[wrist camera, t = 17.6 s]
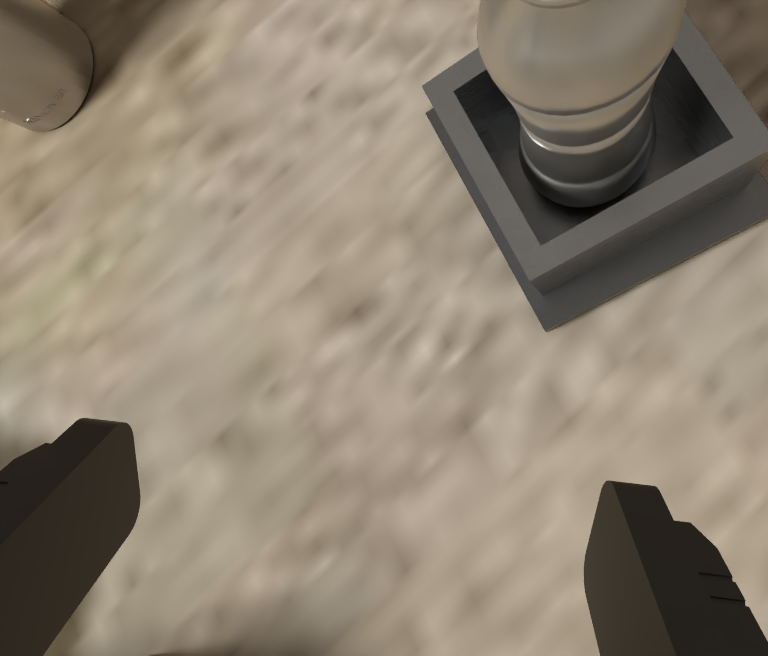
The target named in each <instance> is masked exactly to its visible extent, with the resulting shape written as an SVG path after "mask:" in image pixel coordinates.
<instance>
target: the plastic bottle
mask: <svg viewBox="0 0 768 656" xmlns="http://www.w3.org/2000/svg"><path fill="white" fill-rule="evenodd" d="M687 3H688V0H481V1H480V6H479V12H478V18H477V41H478V47H479V52H480V55H481V58H482V60H483V62H484V64H485V67H486V69H487V71H488V72H489V74H490V76H491V78H492V80H493V81H494V82H495V84H496V85H497V86H498V88H499V89H500V90H501V92H502V93H503V94H504V95H505V96H506V98H507V99H508V100H509V102H510V103H511V104H512V105H513V107H514V108H515V111H516V113H517V115H518V117H519V119H520V127H521V129H520V133H519V158H520V164H521V167H522V170H523V172H524V174H525V177H526V178H527V179H528V181H529V182H530V183H531V185H532V186H533V187H534V188H535V189H536V190H538V191H539V192H540V193H541V194H542V195H544V196H545V197H547V198H548V199H550V200H552V201H554V202H556V203H559V204H562V205H565V206H571V207H591V206H595V205H599V204H603V203H605V202H608V201H610V200H612V199H614V198H616V197H618V196H619V195H621V194H622V193H624V192H625V191H626V190H627V189H628V188H629V187H630V186H632V185H633V184H634V183H635V182H636V181H637V179H638V178H639V177H640V176H641V175H642V173H643V172H644V170H645V169H646V168H647V166H648V164H649V162H650V160H651V158H652V156H653V154H654V149H655V145H656V139H657V127H656V121H655V116H654V111H653V107H652V105H651V92H652V89H653V86H654V83H655V79H656V77H657V75H658V73H659V72H660V70H661V68H662V66H663V64H664V62H665V61H666V59H667V57H668V55H669V53H670V51H671V49H672V47H673V45H674V43H675V41H676V39H677V36H678V34H679V31H680V28H681V25H682V23H683V19H684V15H685V11H686V7H687Z"/></svg>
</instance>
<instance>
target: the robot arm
mask: <svg viewBox="0 0 768 656" xmlns="http://www.w3.org/2000/svg"><path fill="white" fill-rule="evenodd" d="M92 72H93V54H92V49H91V45H90V43H89V40H88V38H87V36H86V34H85V33H84V32H83V30H82V29H81V28H80V27H79V26H77V25H76V24H75V23H73V22H72V21H70V20H69V19H67V18H66V17H64V16H63V15H61V14H60V13H59V10H58V9H56V8H55V7H53V6H52V5H50V4H49V3H47V2H46V1H44V0H0V118H3V119H5V120H8V121H10V122H12V123H15V124H17V125H20V126H22V127H24V128H27V129H29V130H32V131H38V132H42V131H49V130H52V129H55V128H57V127H59V126H61V125H62V124H64V123H65V122H67V121H68V120H69V119H70V118H71V117H72V116H73V115H74V114H75V112H76V111H77V110H78V108H79V107H80V106H81V104H82V102H83V100H84V98H85V96H86V94H87V92H88V89H89V86H90V83H91V78H92ZM139 507H140V489H139V480H138V472H137V463H136V454H135V446H134V437H133V432H132V429H131V427H130V426H129V424H127V423H124V422H115V421H107V420H98V419H90V418H81V419H79V420H77V421H76V422H75V423H74V424H73V425H72V426H70V427H69V428H68V429H67V430H66V431H65V432H64V433H63V434H62V435H61V436H59V437H58V438H57V439H56V440H55V441H54V442H53V443H52V444H49V443H45V444H43V445H41V446H39V447H37V448H35V449H33V450H31V451H29V452H27V453H25V454H23V455H21V456H19V457H17V458H16V459H14V460H13V461H11V462H10V463H9V464H8V465H7V466H6V467H5V468H3V469H2V470H1V471H0V656H43V655H44V653H45V652H46V650H47V649H48V648H49V646H50V645H51V643H52V642H53V641H54V639H55V638H56V636H57V635H58V634H59V632H60V631H61V629H62V628H63V627H64V625H65V624H66V622H67V621H68V620H69V618H70V617H71V615H72V614H73V613H74V611H75V610H76V608H77V607H78V605H79V604H80V603H81V601H82V600H83V598H84V597H85V596H86V594H87V593H88V591H89V590H90V589H91V587H92V586H93V584H94V583H95V582H96V580H97V579H98V577H99V576H100V575H101V573H102V572H103V570H104V569H105V568H106V566H107V565H108V563H109V562H110V561H111V559H112V558H113V556H114V555H115V554H116V552H117V551H118V549H119V548H120V547H121V545H122V544H123V542H124V541H125V540H126V538H127V537H128V535H129V534H130V532H131V531H132V529H133V527H134V525H135V522H136V519H137V516H138V512H139ZM584 586H585V593H586V598H587V602H588V606H589V610H590V615H591V619H592V623H593V627H594V631H595V635H596V640H597V644H598V648H599V652H600V656H768V642H767V640H766V638H765V636H764V634H763V632H762V630H761V629H760V627H759V625H758V623H757V621H756V619H755V617H754V616H753V614H752V612H751V610H750V608H749V607H747V606H745V599H744V597H743V595H742V593H741V591H740V590H739V588H738V586H737V584H736V582H733V581H732V575H731V573H730V571H729V569H728V567H727V565H726V564H725V562H724V560H723V558H722V556H721V554H720V553H719V551H718V549H717V548H716V547H715V546H714V545H713V544H712V543H711V542H710V541H709V540H708V539H707V538H706V537H705V536H704V535H703V534H702V533H701V532H700V531H699V530H698V529H697V528H696V527H694V526H693V525H692V524H691V523H689V522H680V521H674V520H673V518H672V516H671V514H670V512H669V510H668V507H667V505H666V503H665V501H664V499H663V497H662V495H661V493H660V491H659V489H658V488H657V487H655V486H650V485H641V484H633V483H624V482H616V481H606V482H605V483H604V485H603V487H602V489H601V493H600V497H599V501H598V505H597V509H596V513H595V517H594V521H593V526H592V530H591V534H590V538H589V542H588V546H587V550H586V555H585V562H584Z"/></svg>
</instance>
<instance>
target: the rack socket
mask: <svg viewBox="0 0 768 656" xmlns="http://www.w3.org/2000/svg"><path fill="white" fill-rule="evenodd" d="M422 87H423V89H424V91H425V93H426V95H427V96H428V98H429V100H430V102H431V104H432V105H433V107H434V108H433V109H431V110H430V111H428V112H427V113H426V115H427V117H428V119H429V120H430V122H431V124H432V126H433V128H434V129H435V131H436V133H437V135H438V137H439V139H440V140H441V142H442V144H443V146H444V148H445V150H446V151H447V153H448V155H449V157H450V159H451V160H452V162H453V164H454V166H455V168H456V170H457V171H458V173H459V175H460V177H461V179H462V181H463V182H464V184H465V186H466V188H467V190H468V191H469V193H470V195H471V197H472V199H473V201H474V202H475V204H476V206H477V208H478V210H479V212H480V213H481V215H482V217H483V219H484V221H485V222H486V224H487V226H488V228H489V230H490V232H491V233H492V235H493V237H494V239H495V241H496V243H497V244H498V246H499V248H500V250H501V252H502V253H503V255H504V257H505V259H506V261H507V263H508V264H509V266H510V268H511V270H512V272H513V274H514V275H515V277H516V279H517V281H518V283H519V284H520V286H521V288H522V290H523V292H524V294H525V295H526V297H527V299H528V301H529V303H530V305H531V306H532V308H533V310H534V312H535V314H536V315H537V317H538V319H539V321H540V323H541V325H542V326H543V328H544V330H545V331H546V332H548V331H550V330H552V329H554V328H556V327H558V326H560V325H561V324H563V323H565V322H567V321H569V320H571V319H573V318H575V317H577V316H579V315H581V314H583V313H585V312H587V311H589V310H590V309H592V308H594V307H596V306H598V305H600V304H602V303H604V302H606V301H608V300H610V299H612V298H614V297H616V296H617V295H619V294H621V293H623V292H625V291H627V290H629V289H631V288H633V287H635V286H637V285H639V284H641V283H643V282H645V281H646V280H648V279H650V278H652V277H654V276H656V275H658V274H660V273H662V272H664V271H666V270H668V269H670V268H672V267H673V266H675V265H677V264H679V263H681V262H683V261H685V260H687V259H689V258H691V257H693V256H695V255H697V254H699V253H701V252H702V251H704V250H706V249H708V248H710V247H712V246H714V245H716V244H718V243H720V242H722V241H724V240H726V239H728V238H729V237H731V236H733V235H735V234H737V233H739V232H741V231H743V230H745V229H747V228H749V227H751V226H753V225H755V224H757V223H758V222H760V221H762V220H764V219H766V218H768V183H767V182H766V180H765V179H764V177H763V176H762V175H761V173H760V172H759V170H760V169H761V167H762V166H763V165H764V163H765V162H766V161H767V159H768V129H767V128H766V126H765V125H764V123H763V122H762V121H761V119H760V118H759V116H758V115H757V113H756V112H755V110H754V109H753V108H752V106H751V105H750V103H749V102H748V100H747V99H746V97H745V96H744V95H743V93H742V92H741V90H740V89H739V87H738V86H737V84H736V83H735V82H734V80H733V79H732V77H731V76H730V74H729V73H728V72H727V70H726V69H725V67H724V66H723V64H722V63H721V61H720V60H719V59H718V57H717V56H716V54H715V53H714V51H713V50H712V48H711V47H710V46H709V44H708V43H707V41H706V40H705V38H704V37H703V35H702V34H701V33H700V31H699V30H698V28H697V27H696V25H695V24H694V22H693V21H692V20H691V18H690V17H689V15H688V14H687V12H686V11H685V15H684V19H683V23H682V25H681V28H680V31H679V34H678V36H677V39H676V41H675V43H674V45H673V47H672V49H671V51H670V53H669V55H668V57H667V59H666V61H665V62H664V64H663V66H662V68H661V70H660V72H659V73H658V75H657V77H656V79H655V83H654V86H653V89H652V92H651V105H652V107H653V111H654V116H655V121H656V127H657V139H656V145H655V149H654V154H653V156H652V158H651V160H650V162H649V164H648V166H647V168H646V169H645V170H644V172H643V173H642V175H641V176H640V177H639V178H638V179H637V181H636V182H635V183H634V184H633V185H632V186H630V187H629V188H628V189H627V190H626V191H625V192H624V193H622V194H621V195H619V196H618V197H616V198H614V199H612V200H610V201H608V202H605V203H603V204H599V205H595V206H591V207H571V206H565V205H562V204H559V203H556V202H554V201H552V200H550V199H548V198H547V197H545V196H544V195H542V194H541V193H540V192H539V191H538V190H536V189H535V188H534V187H533V186H532V185H531V183H530V182H529V181H528V179H527V178H526V177H525V174H524V172H523V170H522V167H521V164H520V158H519V133H520V129H521V127H520V119H519V117H518V115H517V113H516V111H515V108H514V107H513V105H512V104H511V103H510V102H509V100H508V99H507V98H506V96H505V95H504V94H503V93H502V92H501V90H500V89H499V88H498V86H497V85H496V84H495V82H494V81H493V80H492V78H491V76H490V74H489V72H488V71H487V69H486V67H485V64H484V62H483V60H482V58H481V55H480V52H479V48H477V49H476V50H474V51H473V52H471V53H470V54H468V55H467V56H465V57H464V58H462V59H461V60H460V61H458V62H457V63H455V64H454V65H452V66H451V67H449V68H448V69H446V70H445V71H443V72H442V73H440V74H439V75H437V76H436V77H434V78H433V79H432V80H430V81H429V82H427V83H426V84H424V85H423V86H422Z"/></svg>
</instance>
